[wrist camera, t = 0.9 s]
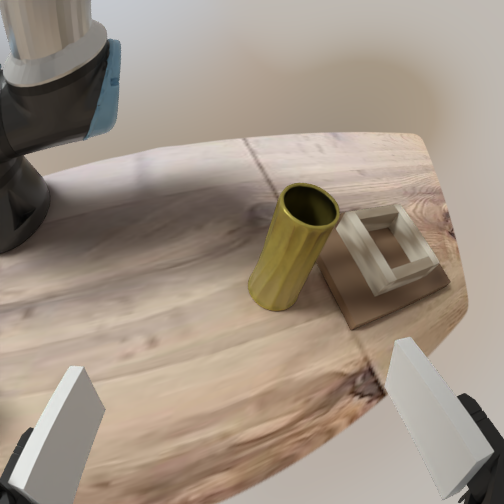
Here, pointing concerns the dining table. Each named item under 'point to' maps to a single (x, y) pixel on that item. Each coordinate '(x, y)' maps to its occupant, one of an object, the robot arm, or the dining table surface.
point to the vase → (292, 245)
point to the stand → (378, 264)
